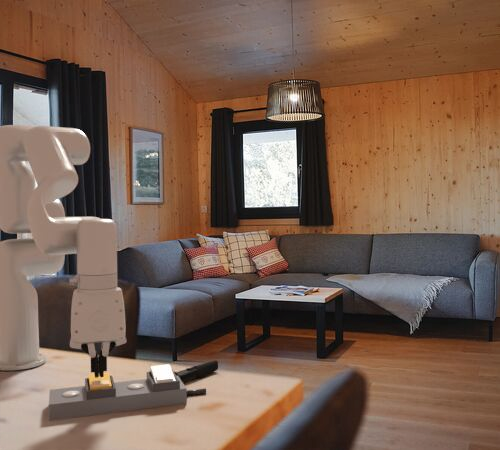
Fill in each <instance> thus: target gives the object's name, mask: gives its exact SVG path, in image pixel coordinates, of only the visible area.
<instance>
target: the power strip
mask: <svg viewBox="0 0 500 450" xmlns="http://www.w3.org/2000/svg"><path fill="white" fill-rule="evenodd" d="M171 370H172V372H173V375H174V377H175V380H176V381H170V382H161V383H154V381H153V377H152V374H151V371H150V370H149V371H146V378H144V379H136V380H128V381H127V380H126V381H118V382H117V381H116V382H114V378H113V375H110V380H111V385H112V388H108V389H99V390H90V386H89V377H87V378H84V385H81V386H79V385H78V386H73V387H63V388H52V389H50V390H49V394H48V395H49V399H48V420H49V421H57V420H66V419H74V418H80V417H88V416H89V417H90V416H97V415H104V414H112V413H121V412H128V411H136V410H143V409H152V408H160V407H170V406H176V405H184V404H185V405H186V404H187V403H188V399H187V398H188V396H194V395H195V396H196V395H202V394H203V395H204V394H207V388H198V389H188V390H187V387H186V385H185V383H183V382H182V381H181V379H180V378H179V377H178V376H176V375H175V373H174V372H175V371H174V370H173V369H172V368H171Z"/></svg>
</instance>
